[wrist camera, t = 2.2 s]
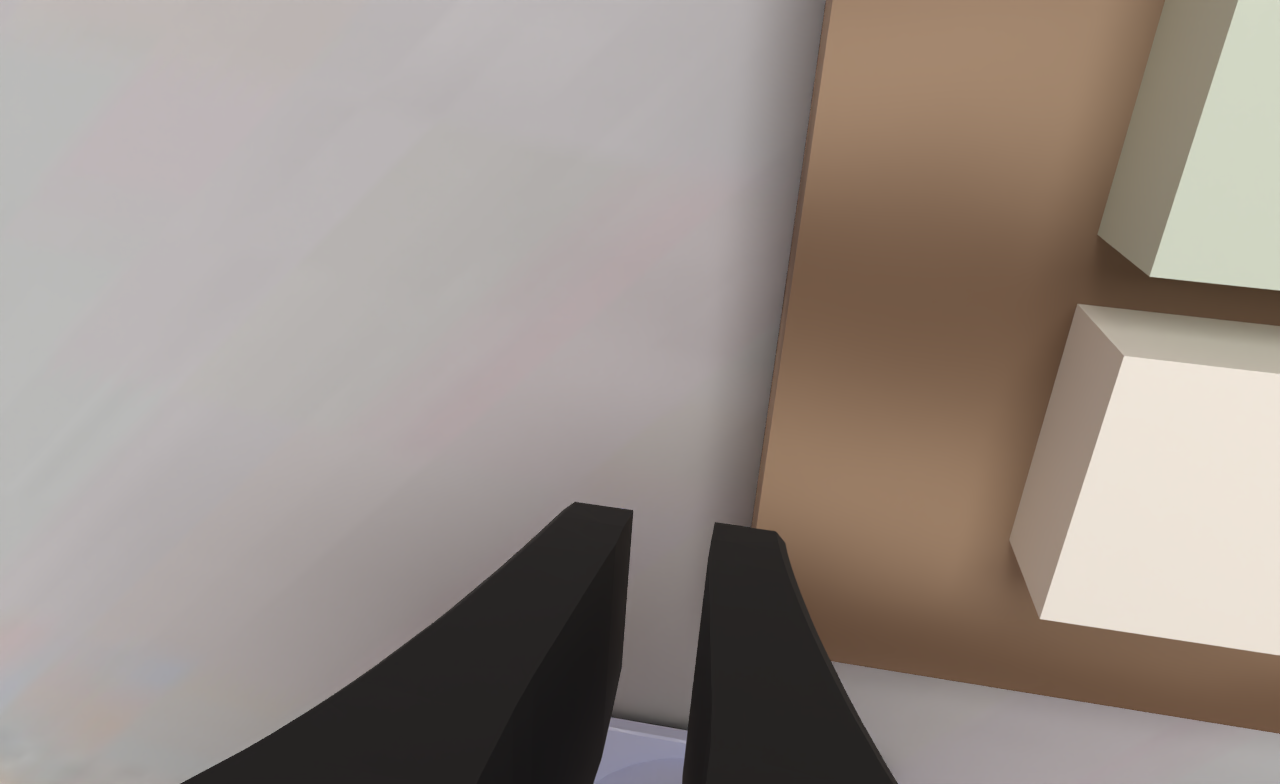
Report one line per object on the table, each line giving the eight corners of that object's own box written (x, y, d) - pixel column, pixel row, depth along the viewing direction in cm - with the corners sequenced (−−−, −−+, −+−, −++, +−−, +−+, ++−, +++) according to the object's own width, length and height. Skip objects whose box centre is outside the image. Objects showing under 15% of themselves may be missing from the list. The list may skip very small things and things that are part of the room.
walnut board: (1364, 643, 17) (1470, 764, 15) (747, 551, 19) (739, 646, 16) (1765, -126, 12) (2052, -161, 9) (850, -172, 13) (863, -215, 10)
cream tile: (1275, 577, 14) (1348, 665, 12) (1008, 539, 14) (1040, 618, 12) (1384, 337, 12) (1487, 398, 10) (1077, 304, 13) (1124, 356, 11)
